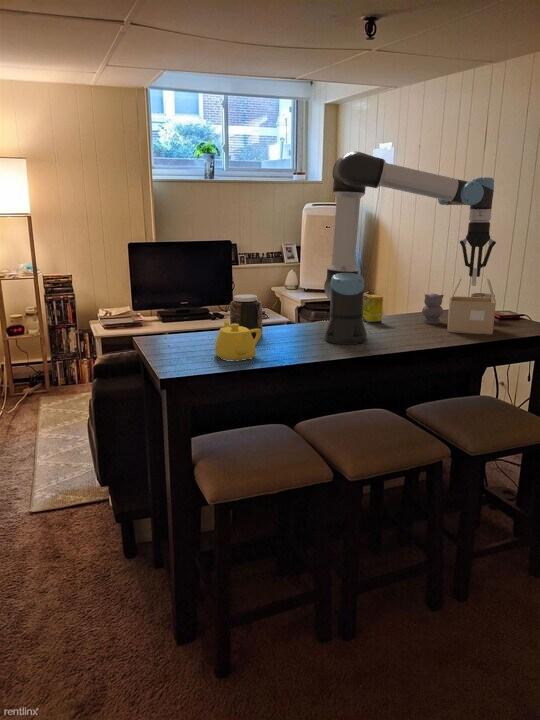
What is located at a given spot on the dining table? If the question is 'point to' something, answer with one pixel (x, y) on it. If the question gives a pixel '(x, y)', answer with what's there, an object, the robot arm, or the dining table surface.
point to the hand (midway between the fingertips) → (473, 285)
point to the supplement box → (372, 308)
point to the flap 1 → (455, 287)
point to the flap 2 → (490, 289)
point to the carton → (471, 315)
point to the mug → (481, 295)
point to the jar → (246, 312)
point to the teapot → (236, 342)
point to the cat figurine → (432, 308)
